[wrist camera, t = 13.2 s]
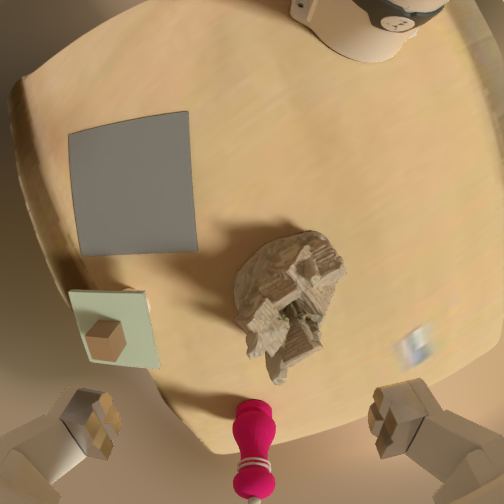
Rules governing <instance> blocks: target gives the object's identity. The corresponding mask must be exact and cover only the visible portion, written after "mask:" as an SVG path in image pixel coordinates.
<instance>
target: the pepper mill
mask: <svg viewBox="0 0 504 504" xmlns="http://www.w3.org/2000/svg"><path fill="white" fill-rule="evenodd" d="M275 433H276V425H275V422H274V421H273V419H272V409H271V407H270V406H269V405H268V404H267V403H265V402H263V401H260V400H248V401H245V402H243V403H241V404H240V405H239V406H238V407H237V411H236V420H235V421H234V423H233V435H234V438H235V440H236V442H237V444H238V446H239V449H240V452H241V460H240V461H239V462H238V464H237V467H238V468H237V471H238V474H237V475H236V476H235V477H234V480H233V487H234V490H235V492H236V493H237V494H238V495H239V496H240V497H242V498H245V499H248V504H260V503H261V500H260V499H264V498H266V497H268V496H269V495H270V494H271V493H272V492H273V491H274V488H275V478H274V476H273V475H272V474H271V473H270V472H271V463H270V462H269V461H268V459H267V458H268V457H267V456H268V450H269V447H270V445H271V443H272V441H273V439H274V436H275Z"/></svg>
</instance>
